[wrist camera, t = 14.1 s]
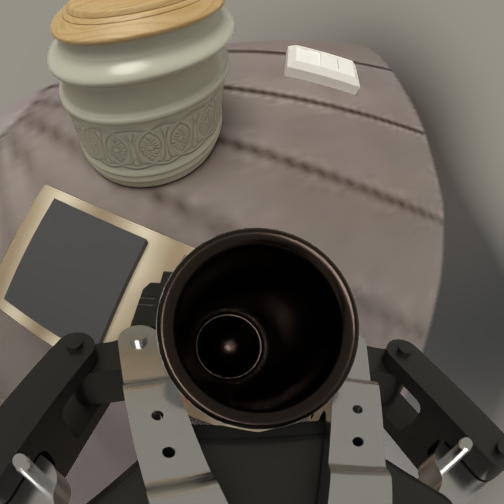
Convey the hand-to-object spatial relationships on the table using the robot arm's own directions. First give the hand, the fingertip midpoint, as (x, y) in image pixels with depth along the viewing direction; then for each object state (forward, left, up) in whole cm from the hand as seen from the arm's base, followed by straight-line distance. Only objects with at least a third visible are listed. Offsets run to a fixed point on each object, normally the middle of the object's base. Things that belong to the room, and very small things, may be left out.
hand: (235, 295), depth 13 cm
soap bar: (0, +31, -10) cm, 33 cm away
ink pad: (-11, -2, -8) cm, 14 cm away
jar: (-13, +13, -10) cm, 21 cm away
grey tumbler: (+1, -2, -4) cm, 5 cm away
